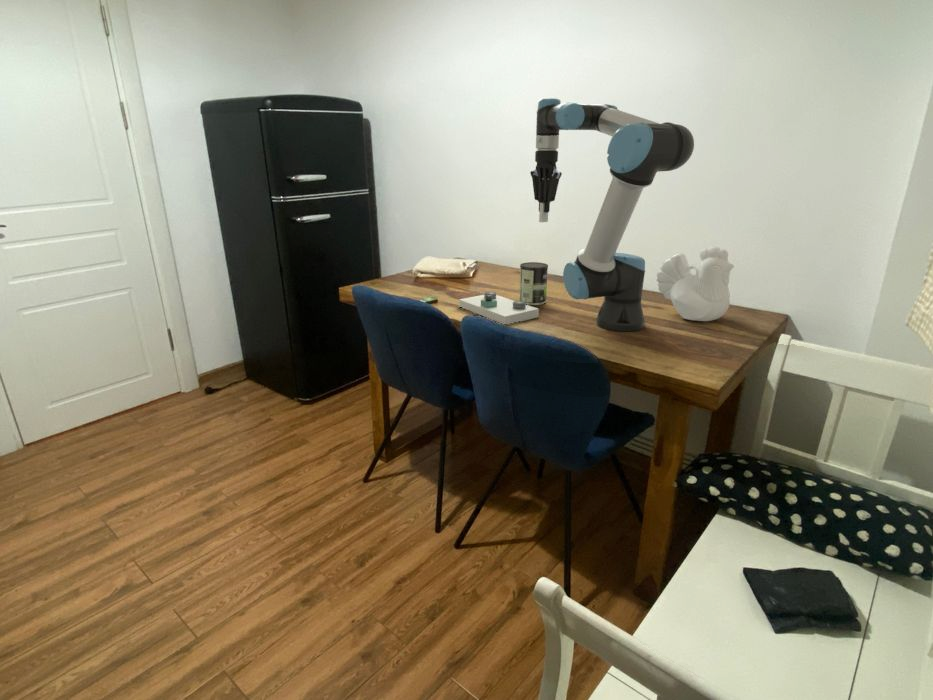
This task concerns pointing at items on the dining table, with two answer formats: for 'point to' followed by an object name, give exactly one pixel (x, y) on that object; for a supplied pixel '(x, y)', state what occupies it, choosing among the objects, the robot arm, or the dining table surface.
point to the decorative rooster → (697, 284)
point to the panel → (499, 309)
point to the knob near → (519, 305)
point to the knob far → (490, 294)
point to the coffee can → (533, 283)
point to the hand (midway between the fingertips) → (543, 221)
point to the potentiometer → (488, 302)
